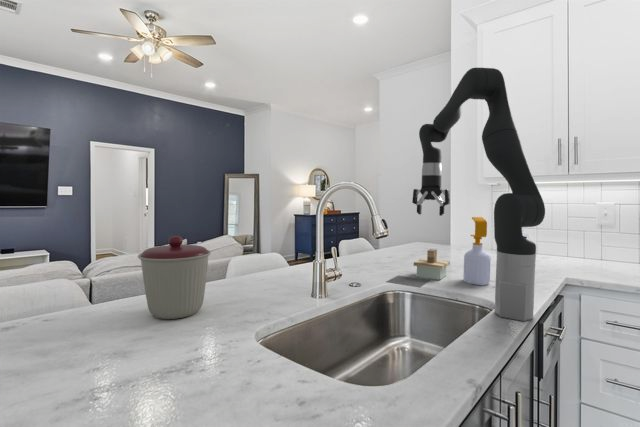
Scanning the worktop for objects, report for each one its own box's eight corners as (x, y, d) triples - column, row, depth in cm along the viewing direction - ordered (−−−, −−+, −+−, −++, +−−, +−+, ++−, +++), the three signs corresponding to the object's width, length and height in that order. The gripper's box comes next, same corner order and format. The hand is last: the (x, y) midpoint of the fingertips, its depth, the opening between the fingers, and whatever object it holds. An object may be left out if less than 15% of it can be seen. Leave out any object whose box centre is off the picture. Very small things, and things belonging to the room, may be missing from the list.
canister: (142, 331, 81) (140, 242, 80) (136, 309, 96) (134, 234, 95) (219, 317, 90) (218, 237, 89) (202, 299, 106) (202, 231, 105)
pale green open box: (439, 281, 130) (440, 268, 130) (416, 278, 135) (416, 265, 135) (446, 276, 138) (446, 264, 137) (423, 273, 143) (423, 261, 143)
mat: (420, 288, 120) (420, 287, 120) (385, 283, 127) (385, 281, 127) (430, 281, 131) (430, 280, 131) (398, 276, 138) (398, 275, 138)
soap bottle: (483, 279, 134) (485, 216, 132) (493, 285, 125) (496, 218, 123) (459, 279, 134) (461, 216, 133) (468, 285, 125) (470, 218, 124)
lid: (442, 269, 129) (442, 253, 128) (413, 265, 135) (413, 250, 134) (449, 264, 138) (450, 249, 137) (422, 261, 144) (422, 247, 144)
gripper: (411, 174, 139) (409, 214, 140) (447, 174, 131) (446, 216, 132) (417, 175, 145) (415, 213, 146) (452, 174, 137) (450, 215, 138)
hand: (430, 214), depth 139 cm, fingers open, 8 cm apart
